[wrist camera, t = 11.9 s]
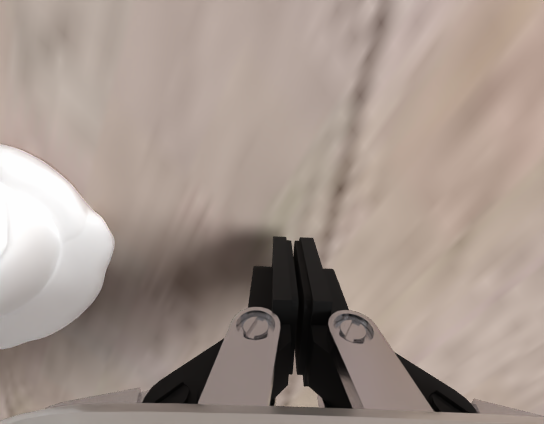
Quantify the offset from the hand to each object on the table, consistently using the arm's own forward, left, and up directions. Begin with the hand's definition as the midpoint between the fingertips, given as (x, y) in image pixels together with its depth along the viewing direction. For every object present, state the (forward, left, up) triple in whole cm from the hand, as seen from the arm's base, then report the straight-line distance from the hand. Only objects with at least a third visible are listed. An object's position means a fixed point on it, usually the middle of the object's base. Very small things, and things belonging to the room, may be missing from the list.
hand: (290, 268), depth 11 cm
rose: (0, -13, -2) cm, 13 cm away
